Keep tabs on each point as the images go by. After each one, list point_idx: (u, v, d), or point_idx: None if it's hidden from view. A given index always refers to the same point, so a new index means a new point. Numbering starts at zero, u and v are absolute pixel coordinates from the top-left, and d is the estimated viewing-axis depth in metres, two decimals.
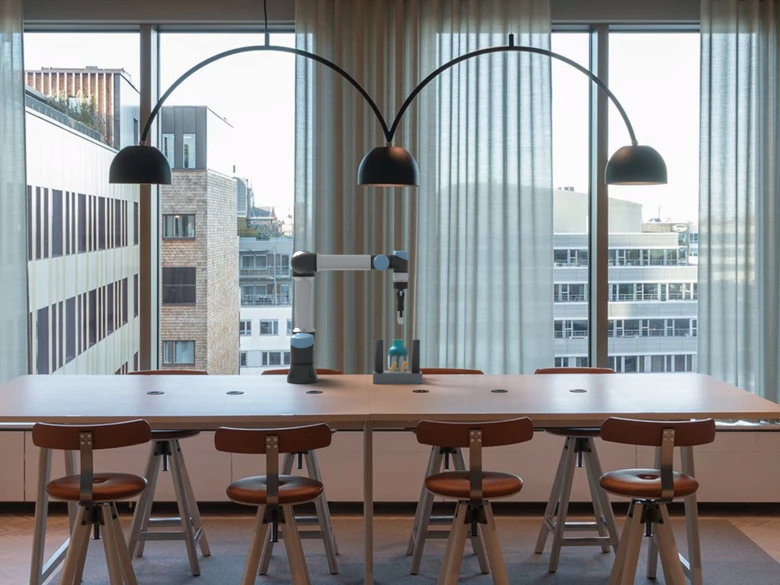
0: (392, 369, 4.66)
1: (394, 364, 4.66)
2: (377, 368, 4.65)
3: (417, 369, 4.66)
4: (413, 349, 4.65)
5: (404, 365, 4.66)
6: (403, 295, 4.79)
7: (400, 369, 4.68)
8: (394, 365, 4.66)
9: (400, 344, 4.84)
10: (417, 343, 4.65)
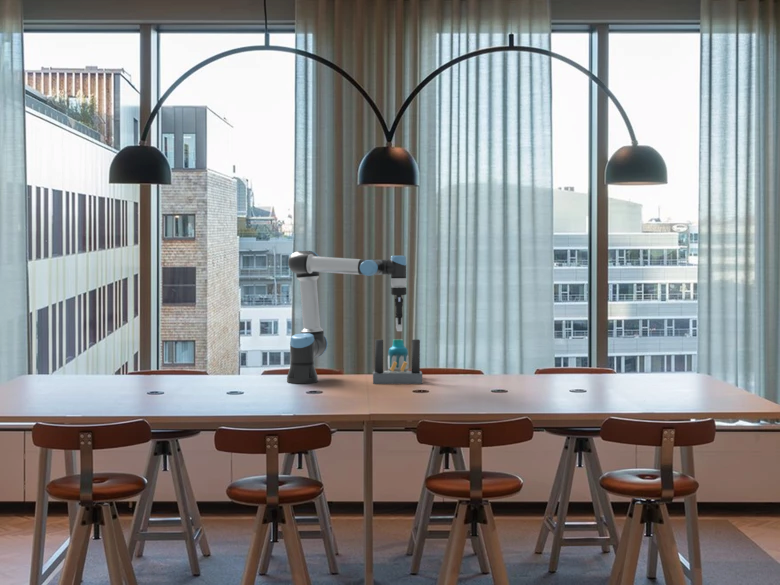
0: (392, 369, 4.66)
1: (394, 364, 4.66)
2: (377, 368, 4.65)
3: (417, 369, 4.66)
4: (413, 349, 4.65)
5: (404, 365, 4.66)
6: (401, 301, 4.63)
7: (400, 369, 4.68)
8: (394, 365, 4.66)
9: (400, 344, 4.84)
10: (417, 343, 4.65)
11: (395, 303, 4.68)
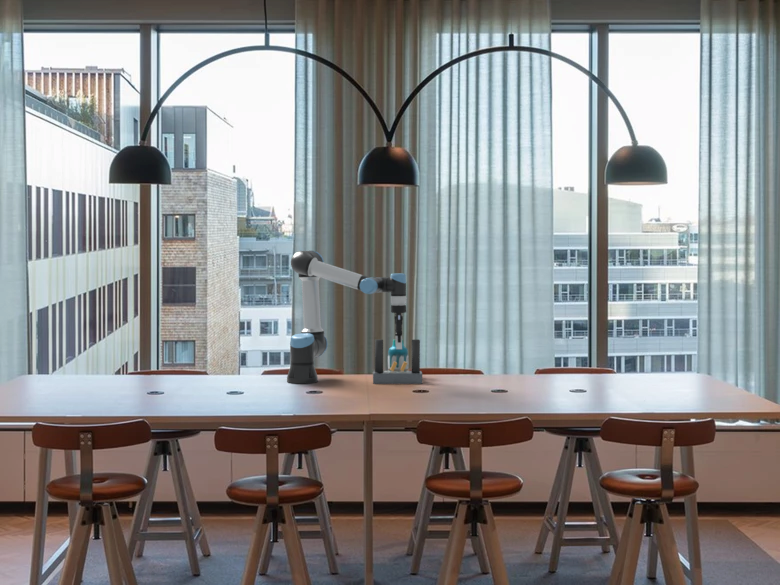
0: (392, 369, 4.66)
1: (394, 364, 4.66)
2: (377, 368, 4.65)
3: (417, 369, 4.66)
4: (413, 349, 4.65)
5: (404, 365, 4.66)
6: (401, 319, 4.64)
7: (400, 369, 4.68)
8: (394, 365, 4.66)
9: None
10: (417, 343, 4.65)
11: None
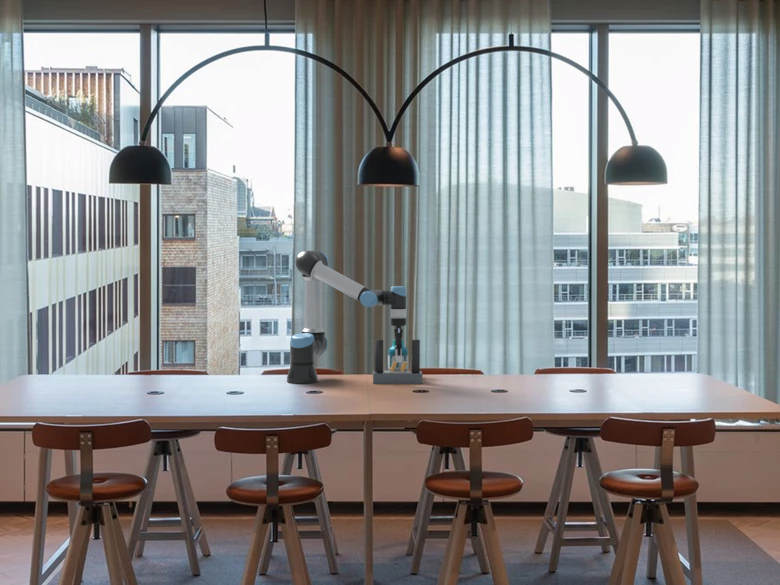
0: (392, 369, 4.66)
1: (394, 364, 4.66)
2: (377, 368, 4.65)
3: (417, 369, 4.66)
4: (413, 349, 4.65)
5: (404, 365, 4.66)
6: (401, 332, 4.64)
7: (400, 369, 4.68)
8: (394, 365, 4.66)
9: None
10: (417, 343, 4.65)
11: None
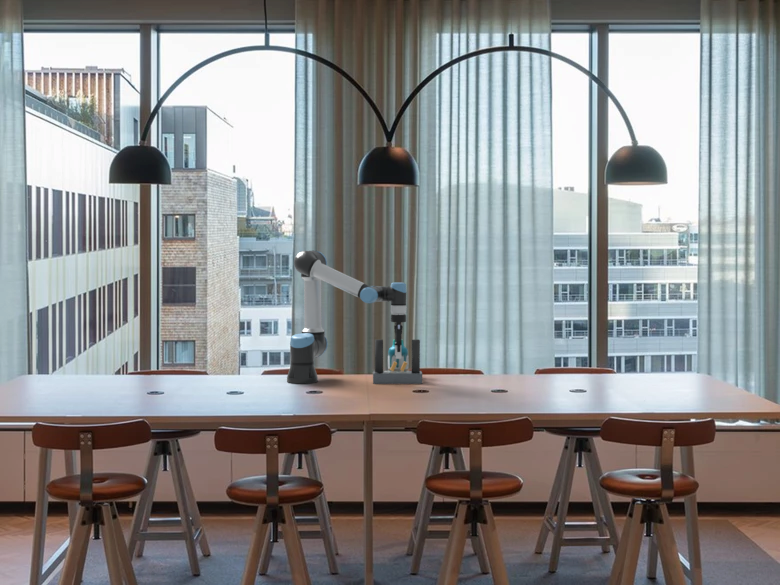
0: (392, 369, 4.66)
1: (394, 364, 4.66)
2: (377, 368, 4.65)
3: (417, 369, 4.66)
4: (413, 349, 4.65)
5: (404, 365, 4.66)
6: (401, 328, 4.64)
7: (400, 369, 4.68)
8: (394, 365, 4.66)
9: None
10: (417, 343, 4.65)
11: None
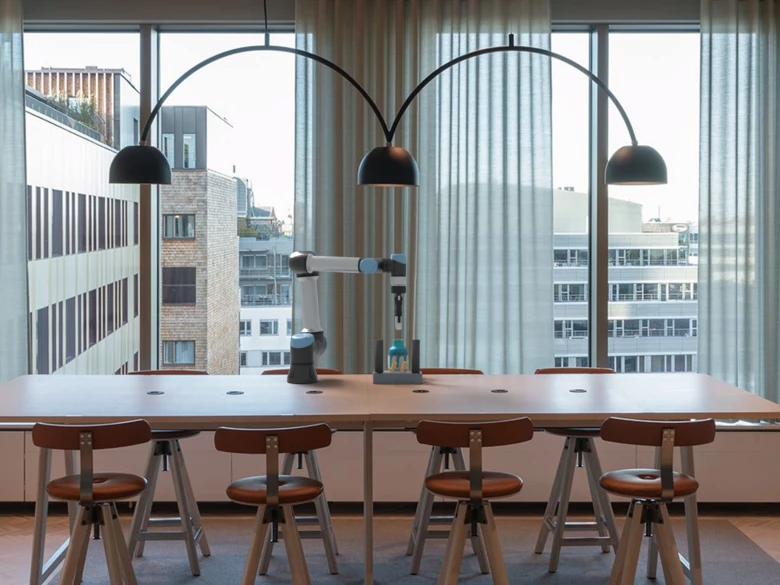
0: (392, 369, 4.66)
1: (394, 364, 4.66)
2: (377, 368, 4.65)
3: (417, 369, 4.66)
4: (413, 349, 4.65)
5: (404, 365, 4.66)
6: (401, 300, 4.63)
7: (400, 369, 4.68)
8: (394, 365, 4.66)
9: (400, 344, 4.84)
10: (417, 343, 4.65)
11: None
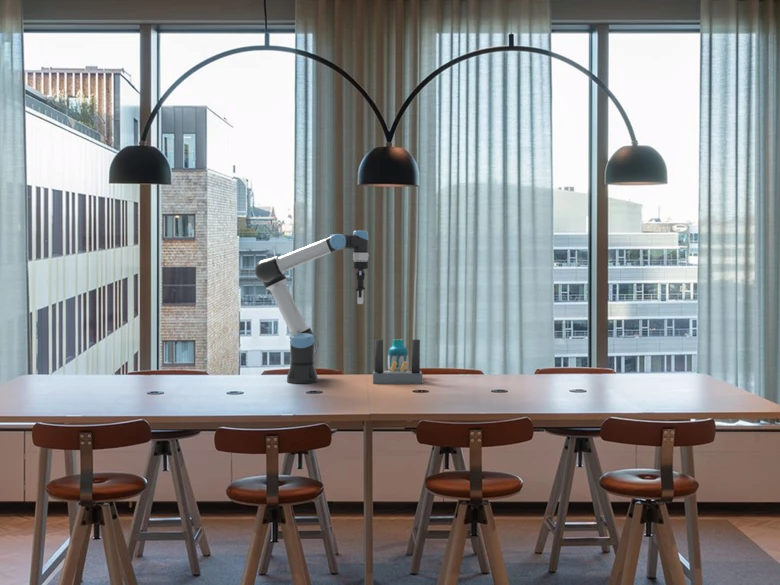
0: (392, 369, 4.66)
1: (394, 364, 4.66)
2: (377, 368, 4.65)
3: (417, 369, 4.66)
4: (413, 349, 4.65)
5: (404, 365, 4.66)
6: (363, 275, 4.76)
7: (400, 369, 4.68)
8: (394, 365, 4.66)
9: (400, 344, 4.84)
10: (417, 343, 4.65)
11: None
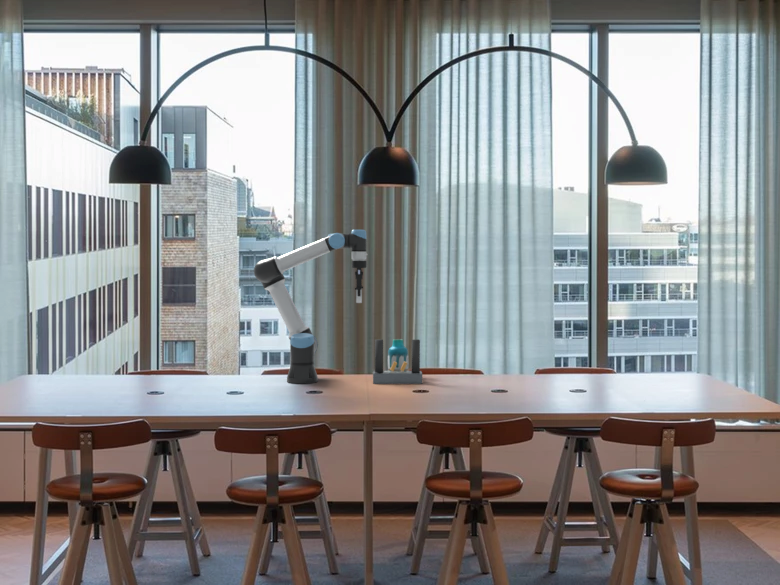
0: (392, 369, 4.66)
1: (394, 364, 4.66)
2: (377, 368, 4.65)
3: (417, 369, 4.66)
4: (413, 349, 4.65)
5: (404, 365, 4.66)
6: (361, 274, 4.77)
7: (400, 369, 4.68)
8: (394, 365, 4.66)
9: (400, 344, 4.84)
10: (417, 343, 4.65)
11: None
